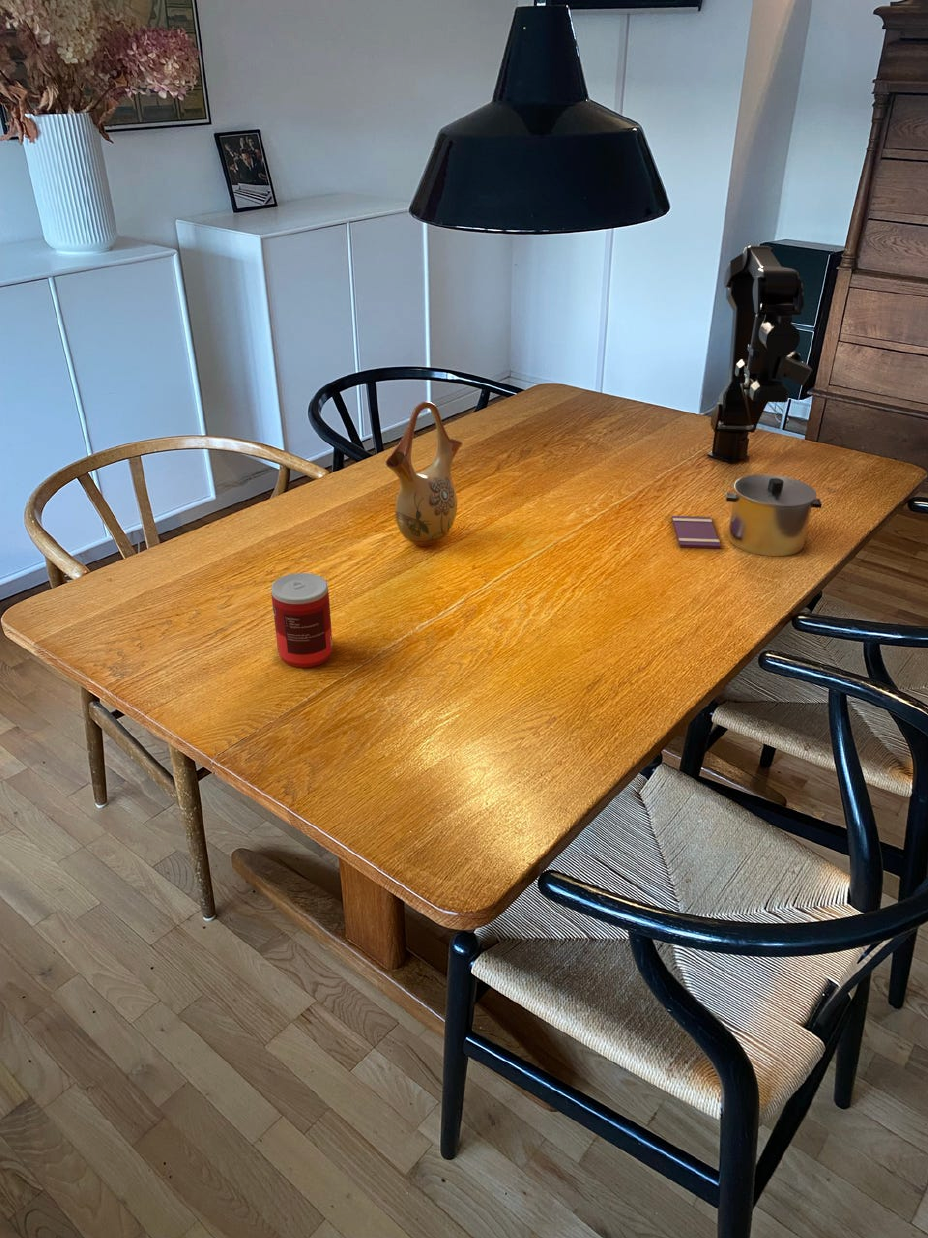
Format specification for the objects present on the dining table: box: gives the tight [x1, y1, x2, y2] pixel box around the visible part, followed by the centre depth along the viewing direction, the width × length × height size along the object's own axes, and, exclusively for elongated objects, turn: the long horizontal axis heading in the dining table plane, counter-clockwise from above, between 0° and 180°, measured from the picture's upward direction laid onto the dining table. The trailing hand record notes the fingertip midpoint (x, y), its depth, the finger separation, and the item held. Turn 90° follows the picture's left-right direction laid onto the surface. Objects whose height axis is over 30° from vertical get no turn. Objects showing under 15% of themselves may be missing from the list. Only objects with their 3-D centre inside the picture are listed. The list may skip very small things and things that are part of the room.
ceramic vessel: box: [385, 401, 463, 547], centre depth 157 cm, size 16×9×25 cm, turn 136°
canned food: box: [270, 572, 334, 669], centre depth 129 cm, size 8×8×11 cm
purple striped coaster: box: [671, 515, 722, 550], centre depth 166 cm, size 12×7×1 cm, turn 176°
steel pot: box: [724, 474, 823, 557], centre depth 161 cm, size 14×16×11 cm
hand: (753, 424), depth 178 cm, fingers closed
